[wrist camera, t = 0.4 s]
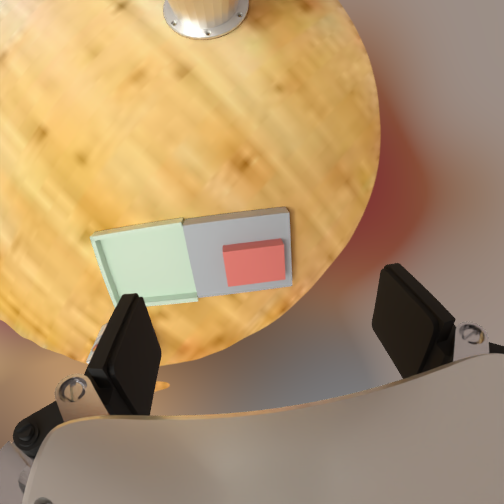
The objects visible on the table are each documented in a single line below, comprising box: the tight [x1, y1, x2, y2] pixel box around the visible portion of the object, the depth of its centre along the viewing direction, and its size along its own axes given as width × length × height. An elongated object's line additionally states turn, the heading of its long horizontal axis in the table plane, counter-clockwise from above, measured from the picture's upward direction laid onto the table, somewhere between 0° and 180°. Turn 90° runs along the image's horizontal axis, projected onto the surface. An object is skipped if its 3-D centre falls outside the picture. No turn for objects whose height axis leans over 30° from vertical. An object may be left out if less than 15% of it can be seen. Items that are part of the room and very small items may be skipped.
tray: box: [90, 218, 198, 308], centre depth 46 cm, size 15×16×2 cm
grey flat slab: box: [183, 207, 292, 298], centre depth 46 cm, size 13×16×3 cm
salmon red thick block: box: [223, 238, 286, 287], centre depth 44 cm, size 6×9×2 cm, turn 95°
